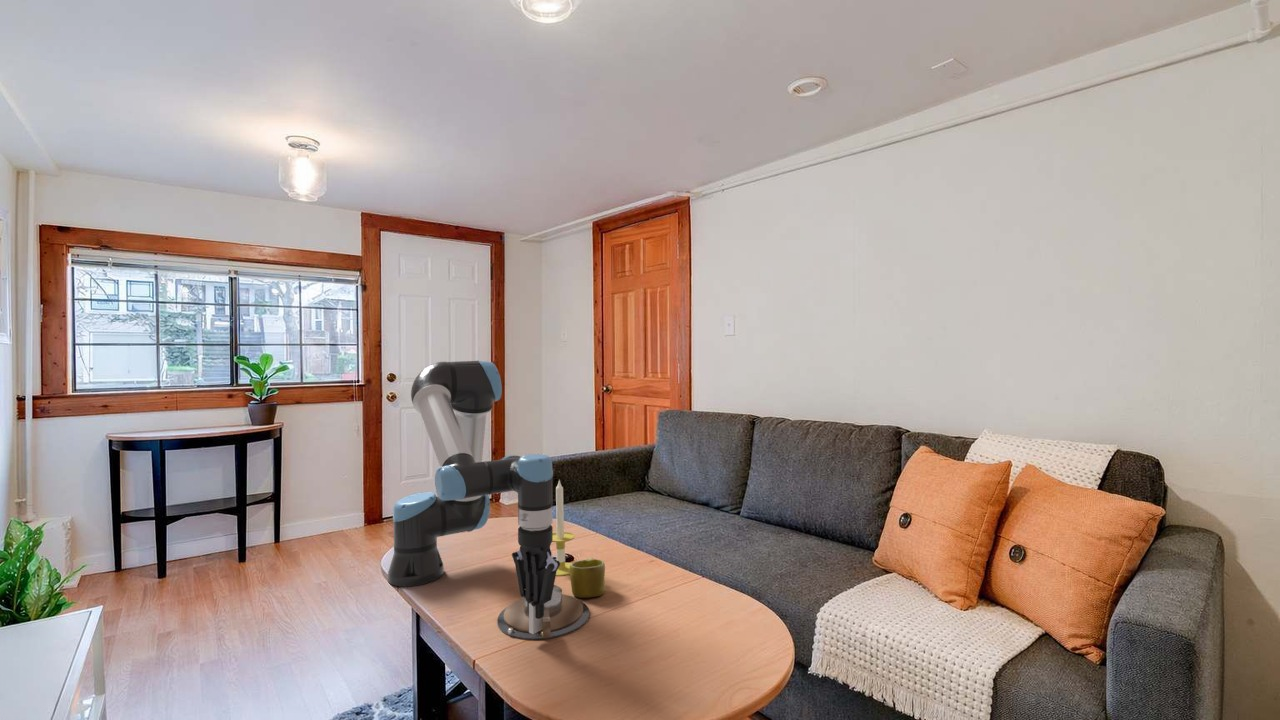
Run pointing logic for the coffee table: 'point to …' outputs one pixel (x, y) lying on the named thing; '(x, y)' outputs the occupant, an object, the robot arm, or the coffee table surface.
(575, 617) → the platter
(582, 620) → the susan base
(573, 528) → the coffee table surface
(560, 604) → the cover
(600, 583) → the mug
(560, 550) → the candle
